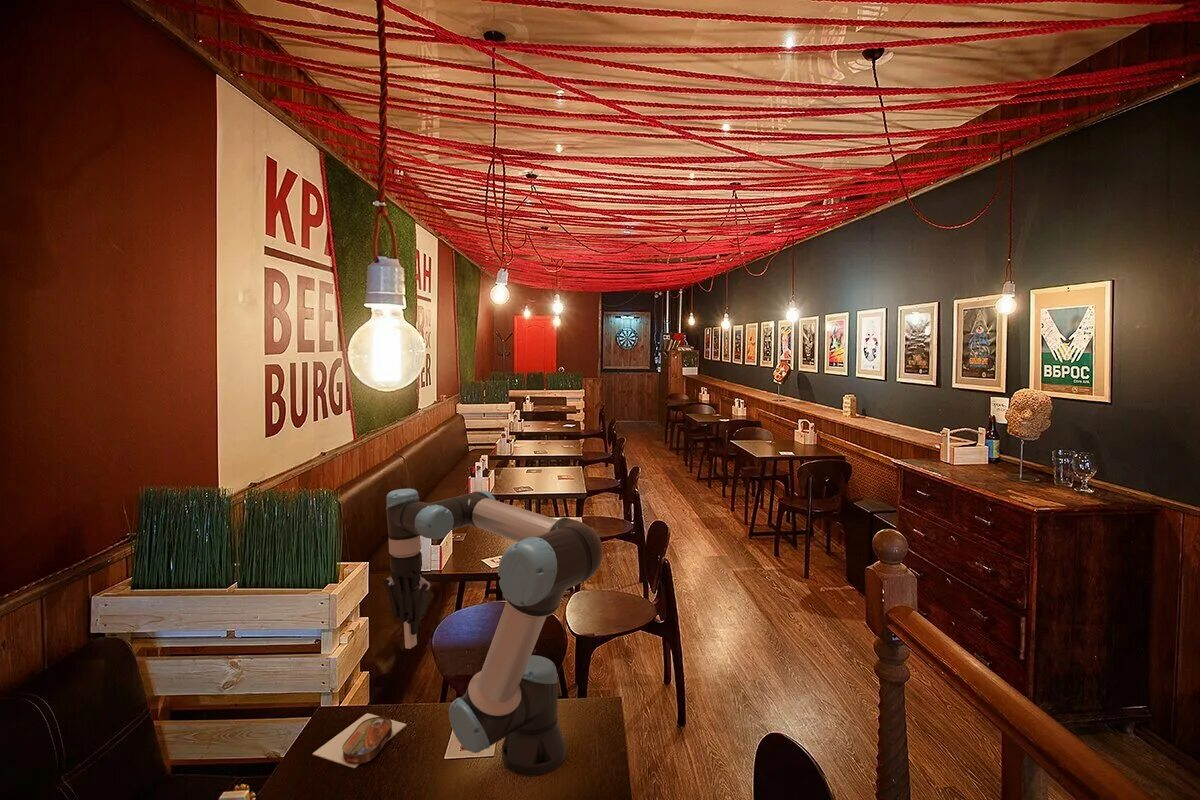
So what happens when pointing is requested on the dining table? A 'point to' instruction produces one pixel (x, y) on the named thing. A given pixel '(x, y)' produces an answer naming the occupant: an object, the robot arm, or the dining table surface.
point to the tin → (367, 740)
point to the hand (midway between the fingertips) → (411, 645)
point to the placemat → (335, 745)
